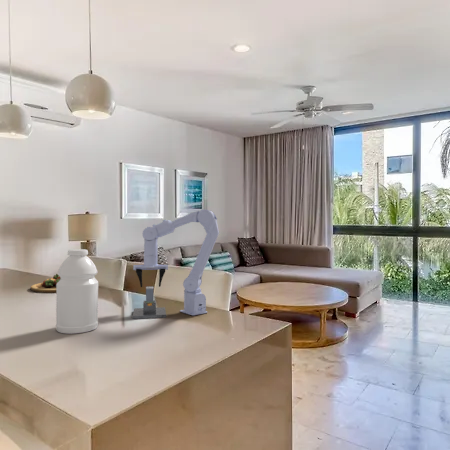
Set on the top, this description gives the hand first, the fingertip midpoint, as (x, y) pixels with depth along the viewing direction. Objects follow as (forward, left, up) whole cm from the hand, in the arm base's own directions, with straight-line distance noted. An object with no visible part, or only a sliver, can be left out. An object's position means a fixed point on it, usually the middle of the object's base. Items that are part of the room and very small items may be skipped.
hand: (150, 286), depth 158 cm
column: (-6, +3, -6) cm, 9 cm away
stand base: (-6, +4, -10) cm, 12 cm away
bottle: (-8, +34, -11) cm, 36 cm away
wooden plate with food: (+82, +12, -11) cm, 83 cm away
